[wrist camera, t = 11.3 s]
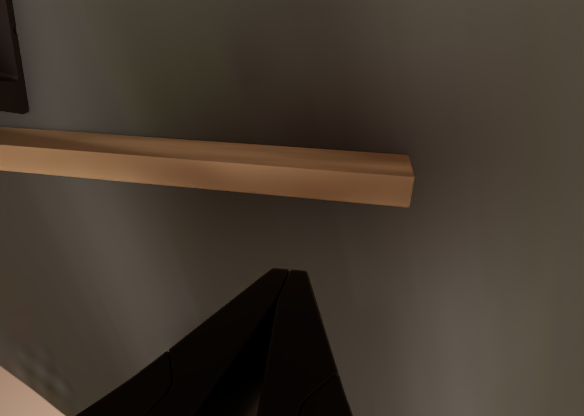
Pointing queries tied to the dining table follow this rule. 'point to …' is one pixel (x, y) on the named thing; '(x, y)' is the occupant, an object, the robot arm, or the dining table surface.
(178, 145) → the reddish flat wooden frame
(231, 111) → the dining table surface
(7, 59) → the phone stand
